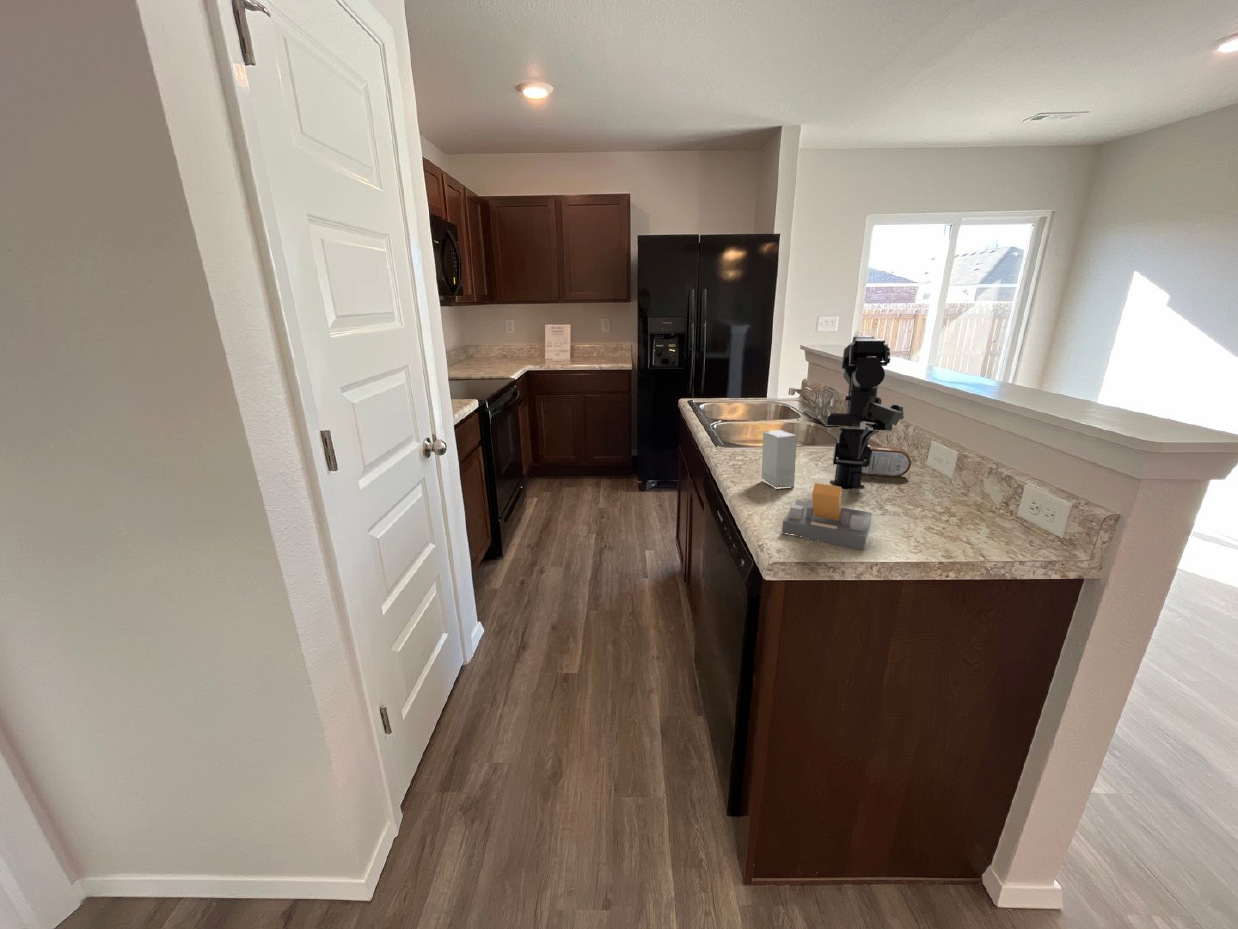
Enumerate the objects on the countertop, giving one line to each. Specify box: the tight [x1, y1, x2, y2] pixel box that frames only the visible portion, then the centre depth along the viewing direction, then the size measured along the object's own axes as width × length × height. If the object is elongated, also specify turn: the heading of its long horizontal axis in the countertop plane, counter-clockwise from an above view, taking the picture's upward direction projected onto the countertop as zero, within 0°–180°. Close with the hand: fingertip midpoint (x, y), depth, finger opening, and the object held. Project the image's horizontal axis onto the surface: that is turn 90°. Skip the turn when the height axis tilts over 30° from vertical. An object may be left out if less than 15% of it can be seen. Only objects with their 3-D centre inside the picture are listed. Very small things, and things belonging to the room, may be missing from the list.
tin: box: [862, 445, 912, 478], centre depth 140 cm, size 15×3×8 cm, turn 71°
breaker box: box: [781, 499, 873, 551], centre depth 105 cm, size 14×16×5 cm
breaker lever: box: [811, 482, 842, 520], centre depth 100 cm, size 2×5×10 cm
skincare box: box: [761, 429, 798, 488], centre depth 133 cm, size 8×6×15 cm
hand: (856, 459), depth 114 cm, fingers closed
